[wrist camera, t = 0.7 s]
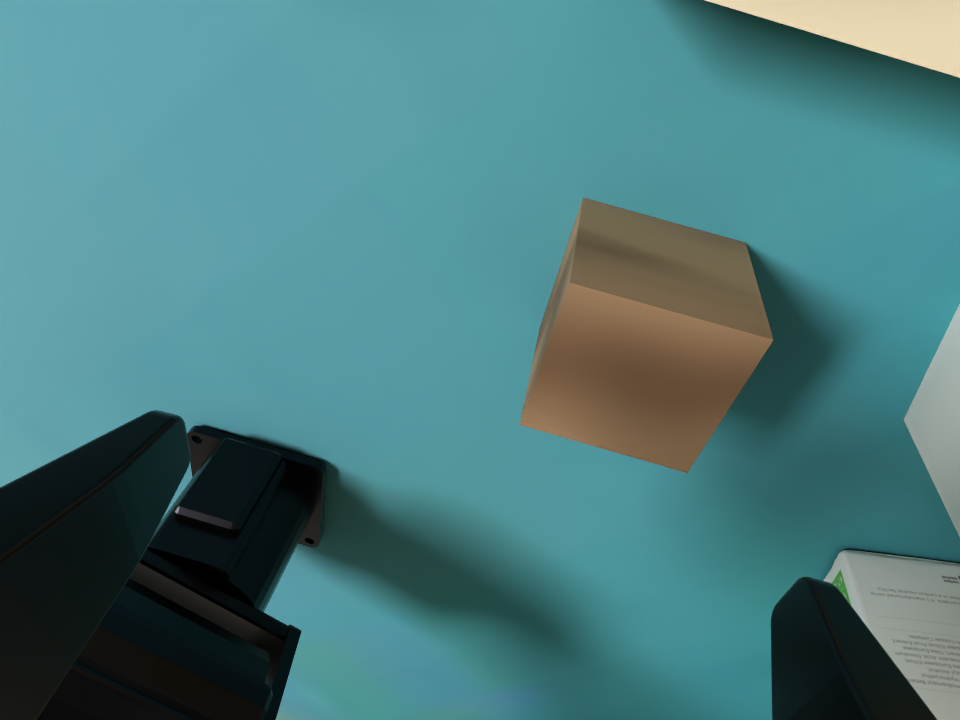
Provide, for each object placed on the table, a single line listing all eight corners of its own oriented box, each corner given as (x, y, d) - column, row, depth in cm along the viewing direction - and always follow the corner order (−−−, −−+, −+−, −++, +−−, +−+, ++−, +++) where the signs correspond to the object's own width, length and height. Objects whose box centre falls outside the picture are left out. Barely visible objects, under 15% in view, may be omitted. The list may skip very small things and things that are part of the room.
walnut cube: (678, 365, 22) (686, 472, 18) (540, 326, 22) (519, 424, 18) (745, 241, 19) (773, 340, 15) (583, 196, 19) (569, 282, 15)
